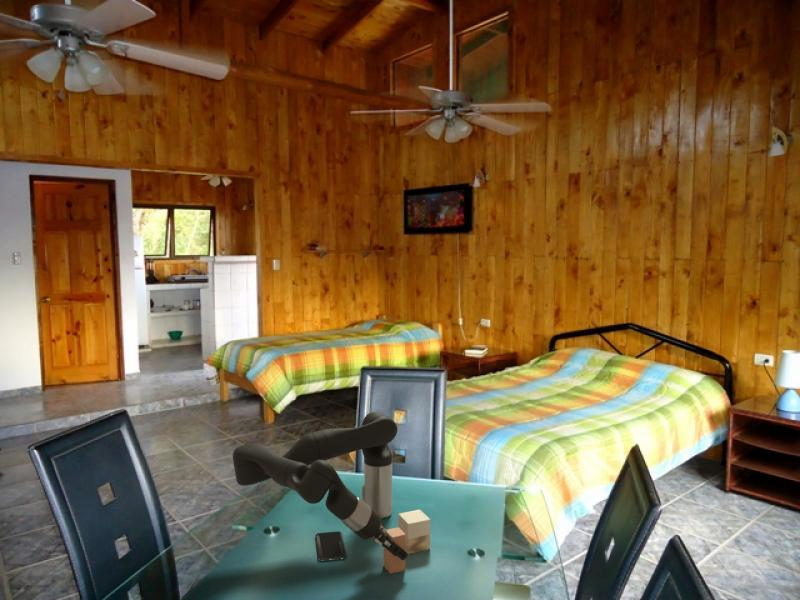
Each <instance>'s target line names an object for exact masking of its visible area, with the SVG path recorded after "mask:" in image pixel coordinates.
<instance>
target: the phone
mask: <svg viewBox="0 0 800 600" xmlns="http://www.w3.org/2000/svg"><path fill="white" fill-rule="evenodd" d="M315 543H316V552H318V553H317V560H318V559H320V560H329V559H341V558H345V557H346V558H347V552H346V548H345V543H344V538H343V533H342V532H341V531H328V532H317V533H316V534H315ZM346 558H345V559H346Z"/></svg>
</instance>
